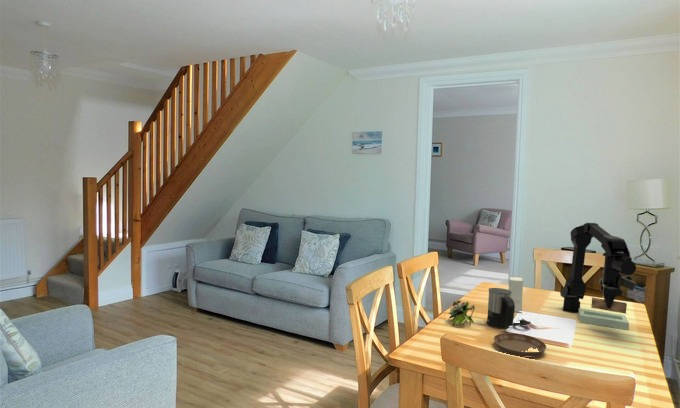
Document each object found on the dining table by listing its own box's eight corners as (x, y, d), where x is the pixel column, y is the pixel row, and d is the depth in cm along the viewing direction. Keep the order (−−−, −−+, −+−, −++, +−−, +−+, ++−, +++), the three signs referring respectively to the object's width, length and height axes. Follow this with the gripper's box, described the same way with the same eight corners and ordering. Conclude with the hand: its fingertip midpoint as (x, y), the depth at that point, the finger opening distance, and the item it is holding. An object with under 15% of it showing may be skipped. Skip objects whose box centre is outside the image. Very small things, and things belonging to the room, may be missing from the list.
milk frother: (481, 323, 189) (483, 288, 187) (507, 318, 196) (509, 285, 195) (508, 334, 176) (511, 297, 175) (535, 329, 184) (538, 293, 183)
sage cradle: (579, 322, 195) (580, 315, 195) (578, 314, 206) (578, 308, 206) (628, 330, 188) (629, 323, 187) (624, 321, 198) (624, 315, 198)
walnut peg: (591, 307, 184) (592, 299, 183) (591, 305, 187) (592, 297, 186) (625, 313, 178) (626, 305, 177) (625, 311, 181) (626, 302, 180)
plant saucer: (519, 363, 150) (519, 354, 150) (482, 343, 166) (483, 335, 166) (557, 356, 157) (557, 348, 157) (518, 338, 173) (519, 330, 173)
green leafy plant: (454, 333, 191) (460, 306, 196) (478, 335, 183) (483, 308, 188) (441, 322, 184) (447, 295, 190) (464, 324, 177) (470, 296, 182)
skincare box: (521, 313, 204) (524, 281, 203) (507, 311, 206) (510, 279, 205) (520, 307, 212) (522, 277, 211) (506, 306, 214) (509, 275, 213)
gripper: (639, 276, 169) (635, 317, 170) (631, 267, 186) (628, 304, 187) (605, 272, 174) (602, 312, 175) (600, 264, 190) (597, 299, 192)
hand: (608, 306), depth 182 cm, fingers closed on walnut peg, 4 cm apart
